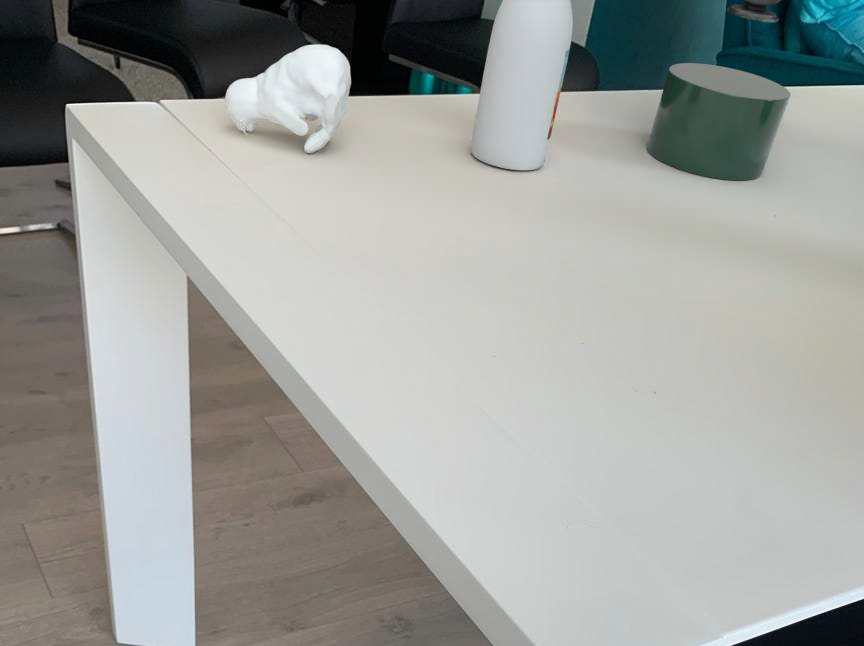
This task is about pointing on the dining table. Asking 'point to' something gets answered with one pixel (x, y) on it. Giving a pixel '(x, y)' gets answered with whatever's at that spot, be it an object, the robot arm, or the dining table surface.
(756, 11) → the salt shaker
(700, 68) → the pedestal
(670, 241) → the dining table surface
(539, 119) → the milk bottle
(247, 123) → the white figurine
